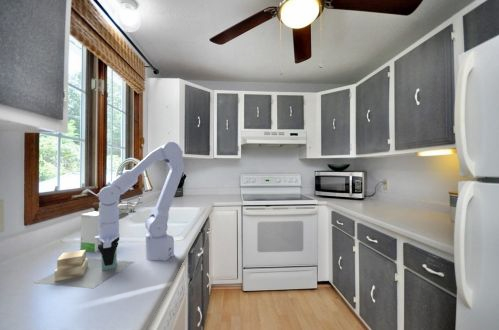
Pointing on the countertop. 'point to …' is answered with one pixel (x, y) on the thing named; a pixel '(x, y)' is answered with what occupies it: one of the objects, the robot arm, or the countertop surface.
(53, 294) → the countertop surface
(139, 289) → the countertop surface
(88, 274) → the grey board
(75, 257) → the maple slab upper
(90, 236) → the skincare box
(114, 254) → the sage block
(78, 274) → the maple slab lower
